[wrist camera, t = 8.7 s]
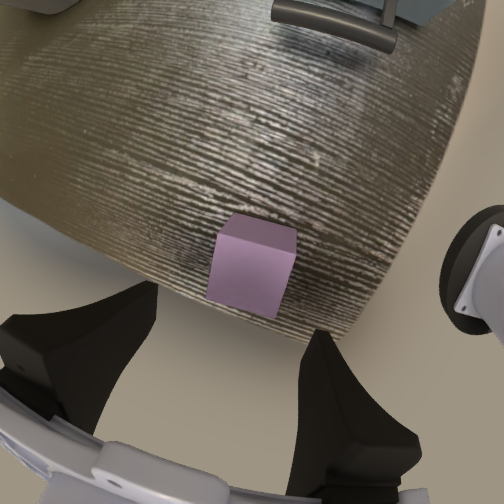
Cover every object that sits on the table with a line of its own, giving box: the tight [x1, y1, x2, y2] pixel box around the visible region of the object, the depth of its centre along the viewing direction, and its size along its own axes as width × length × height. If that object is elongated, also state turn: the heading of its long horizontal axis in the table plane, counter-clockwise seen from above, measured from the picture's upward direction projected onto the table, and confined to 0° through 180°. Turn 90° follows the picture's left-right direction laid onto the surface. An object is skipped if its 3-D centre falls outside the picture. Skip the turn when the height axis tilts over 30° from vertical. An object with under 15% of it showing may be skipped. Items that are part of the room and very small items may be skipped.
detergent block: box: [205, 213, 297, 318], centre depth 19 cm, size 4×4×4 cm
